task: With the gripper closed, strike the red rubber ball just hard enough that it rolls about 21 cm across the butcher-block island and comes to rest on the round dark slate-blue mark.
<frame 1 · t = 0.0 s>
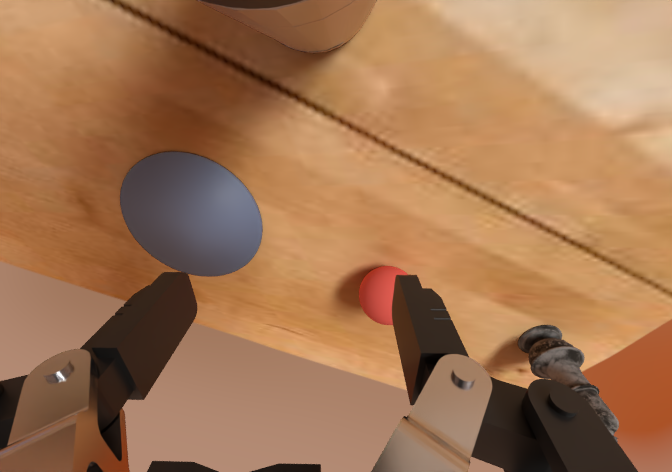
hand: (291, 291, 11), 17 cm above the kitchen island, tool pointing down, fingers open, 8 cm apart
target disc: (193, 220, 29), on the kitchen island
salt shaker: (538, 338, 37), on the kitchen island
ball: (387, 294, 30), on the kitchen island
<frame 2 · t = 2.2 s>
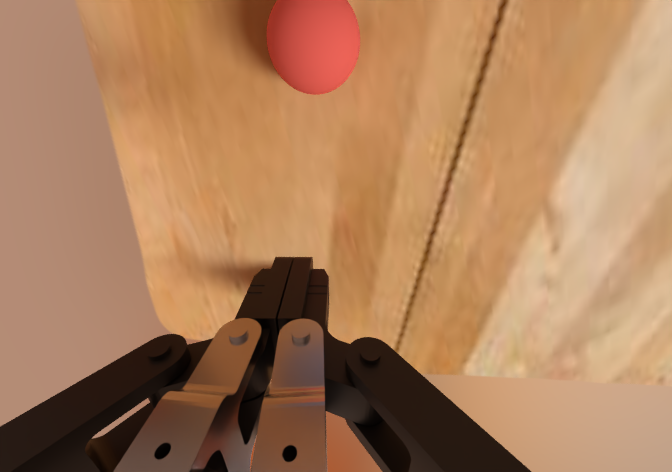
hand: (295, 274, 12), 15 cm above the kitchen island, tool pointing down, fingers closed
ball: (313, 43, 18), on the kitchen island
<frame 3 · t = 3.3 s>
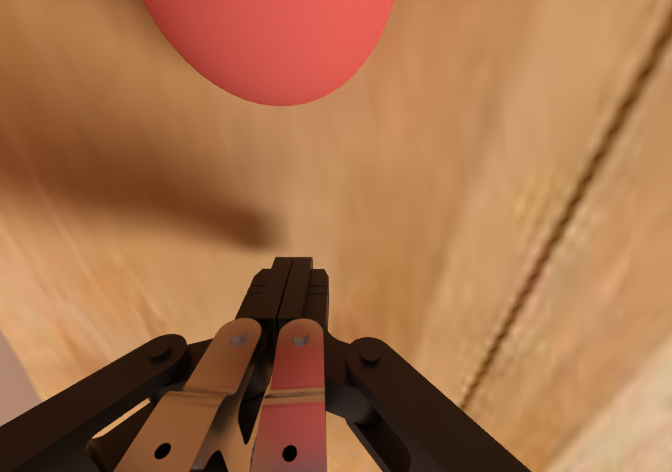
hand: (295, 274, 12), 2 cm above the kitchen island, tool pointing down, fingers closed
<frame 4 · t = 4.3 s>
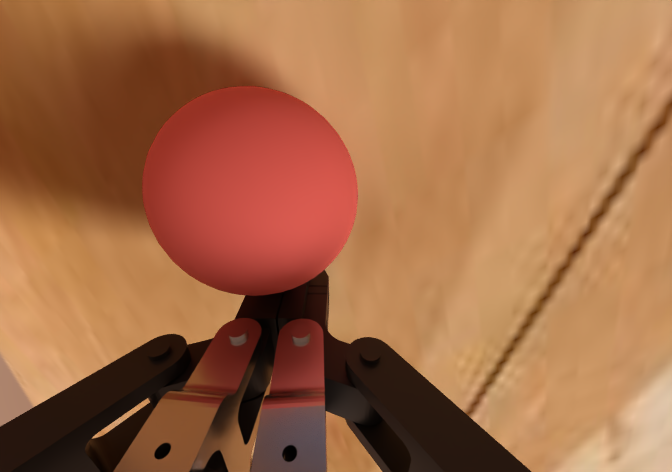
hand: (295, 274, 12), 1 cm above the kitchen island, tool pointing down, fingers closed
ball: (260, 196, 9), on the kitchen island
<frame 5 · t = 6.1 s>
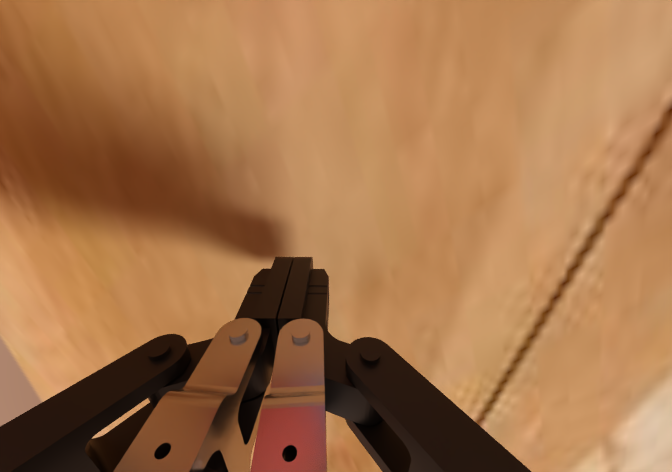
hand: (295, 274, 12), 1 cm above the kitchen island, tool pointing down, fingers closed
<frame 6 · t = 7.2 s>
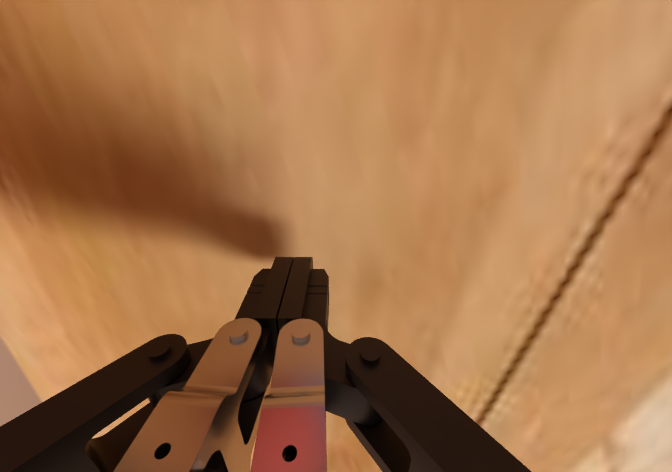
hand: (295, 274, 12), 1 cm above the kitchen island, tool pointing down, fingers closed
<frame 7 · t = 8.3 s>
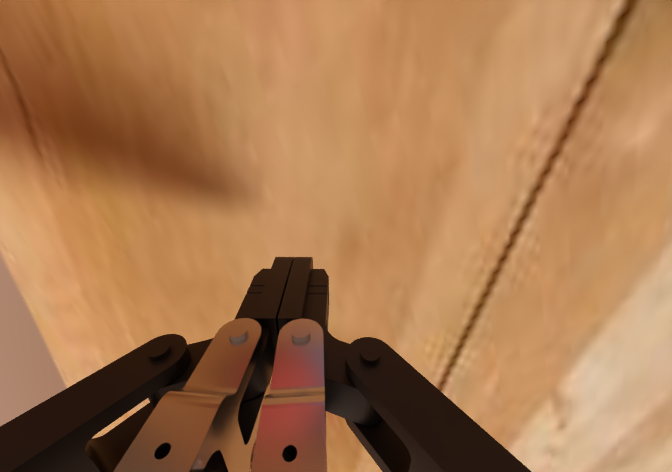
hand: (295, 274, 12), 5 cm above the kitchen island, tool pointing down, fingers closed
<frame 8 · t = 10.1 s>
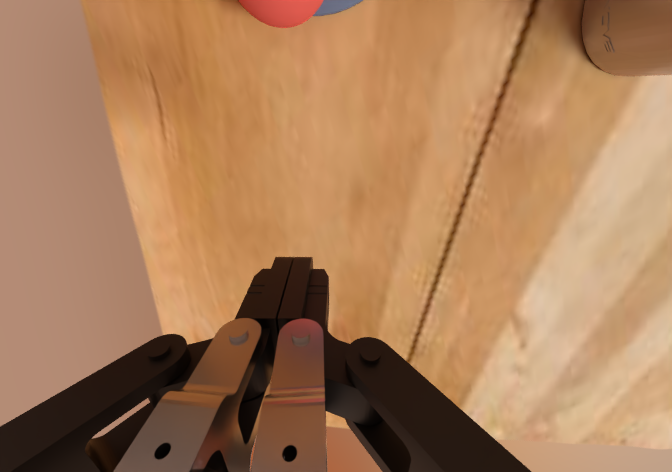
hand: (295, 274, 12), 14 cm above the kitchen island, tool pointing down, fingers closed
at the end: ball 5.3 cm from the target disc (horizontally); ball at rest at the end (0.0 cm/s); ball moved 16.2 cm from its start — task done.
